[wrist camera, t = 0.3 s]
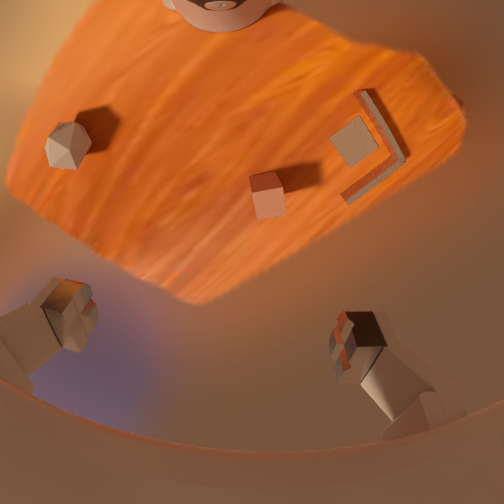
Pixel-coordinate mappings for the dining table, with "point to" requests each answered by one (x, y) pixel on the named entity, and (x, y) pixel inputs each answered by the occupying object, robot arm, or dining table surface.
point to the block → (267, 195)
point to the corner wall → (366, 148)
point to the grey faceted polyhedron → (67, 145)
